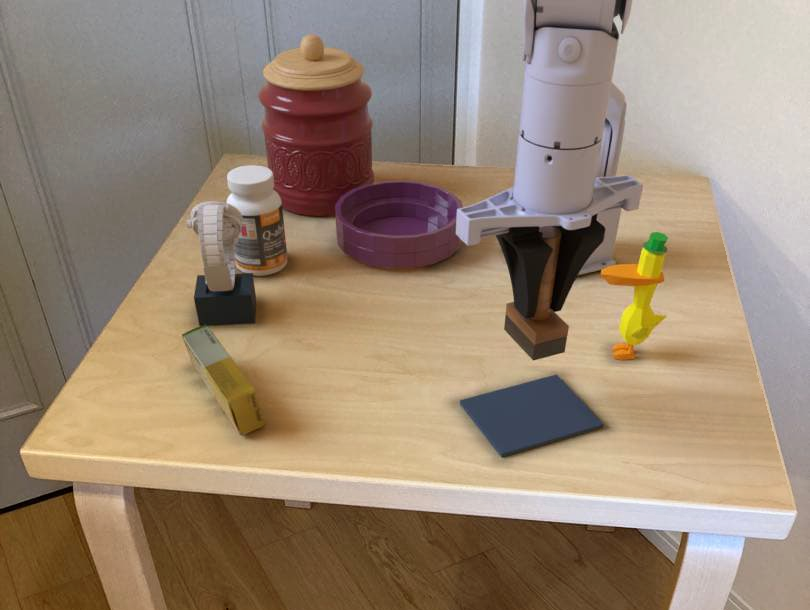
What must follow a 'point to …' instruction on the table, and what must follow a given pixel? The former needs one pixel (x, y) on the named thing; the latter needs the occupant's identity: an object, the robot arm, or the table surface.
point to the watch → (221, 267)
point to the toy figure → (639, 294)
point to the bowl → (398, 224)
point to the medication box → (224, 379)
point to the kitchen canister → (316, 126)
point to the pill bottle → (258, 221)
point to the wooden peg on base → (540, 311)
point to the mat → (530, 415)
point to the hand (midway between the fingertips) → (537, 308)
